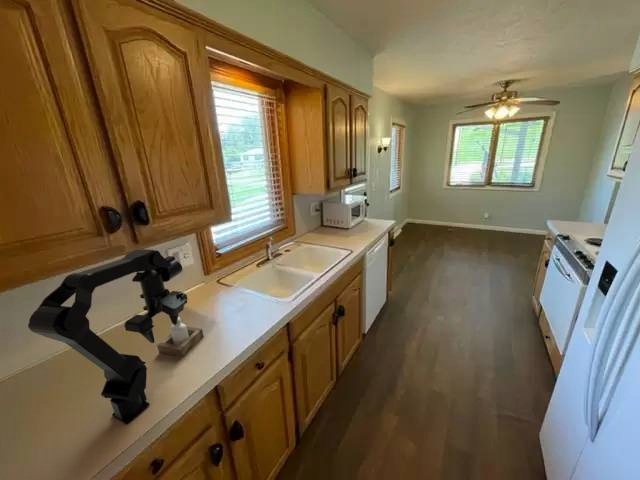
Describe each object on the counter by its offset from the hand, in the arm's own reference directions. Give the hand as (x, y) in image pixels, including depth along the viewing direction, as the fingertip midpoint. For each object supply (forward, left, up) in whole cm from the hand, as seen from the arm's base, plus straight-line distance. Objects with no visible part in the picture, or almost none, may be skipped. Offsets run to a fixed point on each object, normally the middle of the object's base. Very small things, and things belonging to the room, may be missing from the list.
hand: (164, 333), depth 87 cm
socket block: (+9, +6, -13) cm, 17 cm away
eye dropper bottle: (+9, +6, -13) cm, 17 cm away
